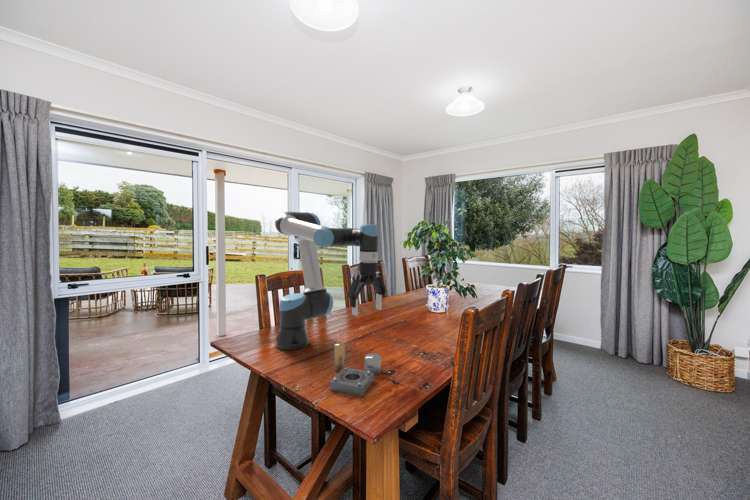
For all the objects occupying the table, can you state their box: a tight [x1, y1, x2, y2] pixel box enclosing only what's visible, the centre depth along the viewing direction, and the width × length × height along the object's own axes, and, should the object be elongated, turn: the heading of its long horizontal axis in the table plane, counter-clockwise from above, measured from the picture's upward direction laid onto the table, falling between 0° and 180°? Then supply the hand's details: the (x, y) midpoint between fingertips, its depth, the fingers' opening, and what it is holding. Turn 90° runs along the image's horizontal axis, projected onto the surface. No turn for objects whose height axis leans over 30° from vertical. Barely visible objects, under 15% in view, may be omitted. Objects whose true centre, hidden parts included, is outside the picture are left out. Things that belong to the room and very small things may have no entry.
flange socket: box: [329, 366, 375, 397], centre depth 114 cm, size 12×12×4 cm
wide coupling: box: [363, 352, 382, 376], centre depth 125 cm, size 6×6×6 cm
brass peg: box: [333, 341, 346, 372], centre depth 127 cm, size 4×4×10 cm
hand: (367, 312), depth 135 cm, fingers open, 13 cm apart
